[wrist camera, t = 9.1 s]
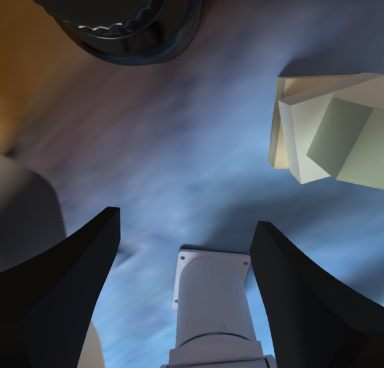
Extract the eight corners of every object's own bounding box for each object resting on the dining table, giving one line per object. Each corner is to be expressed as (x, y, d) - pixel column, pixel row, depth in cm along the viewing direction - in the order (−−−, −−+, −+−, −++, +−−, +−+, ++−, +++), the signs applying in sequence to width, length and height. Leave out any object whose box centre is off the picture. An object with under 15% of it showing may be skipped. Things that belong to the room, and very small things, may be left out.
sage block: (356, 166, 18) (398, 192, 14) (305, 155, 17) (335, 179, 14) (388, 110, 16) (444, 125, 12) (332, 97, 16) (374, 108, 12)
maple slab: (341, 155, 23) (357, 166, 20) (265, 158, 23) (274, 169, 21) (362, 73, 20) (385, 75, 17) (275, 76, 20) (285, 78, 17)
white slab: (363, 149, 20) (385, 160, 18) (289, 170, 21) (301, 184, 18) (362, 72, 17) (388, 74, 15) (277, 100, 18) (290, 105, 16)
